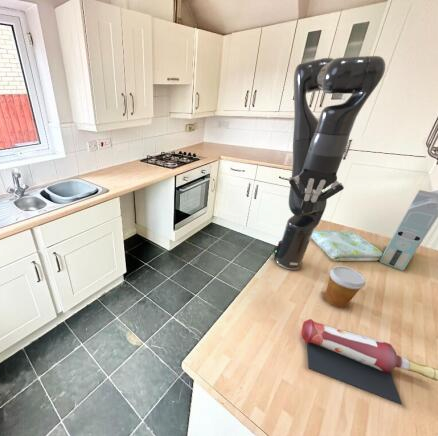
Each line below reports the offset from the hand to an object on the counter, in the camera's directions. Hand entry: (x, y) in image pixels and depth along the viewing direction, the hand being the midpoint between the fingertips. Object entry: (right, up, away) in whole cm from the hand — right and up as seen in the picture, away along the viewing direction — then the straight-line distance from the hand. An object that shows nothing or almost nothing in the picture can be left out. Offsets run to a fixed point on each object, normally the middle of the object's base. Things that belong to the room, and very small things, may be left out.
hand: (305, 212), depth 69 cm
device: (+62, -19, +36) cm, 74 cm away
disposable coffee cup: (+21, -31, +16) cm, 41 cm away
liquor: (+1, -35, +2) cm, 35 cm away
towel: (+44, -16, +42) cm, 63 cm away
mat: (+9, -42, -3) cm, 43 cm away
